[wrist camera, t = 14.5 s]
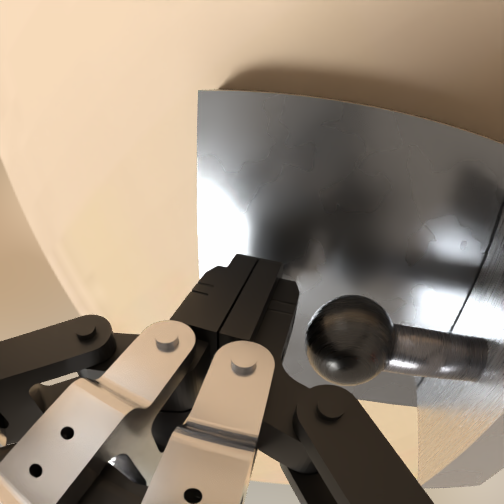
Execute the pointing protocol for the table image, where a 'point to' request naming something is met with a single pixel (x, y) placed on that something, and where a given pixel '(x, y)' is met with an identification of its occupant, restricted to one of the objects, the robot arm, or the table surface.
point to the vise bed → (348, 209)
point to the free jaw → (430, 371)
